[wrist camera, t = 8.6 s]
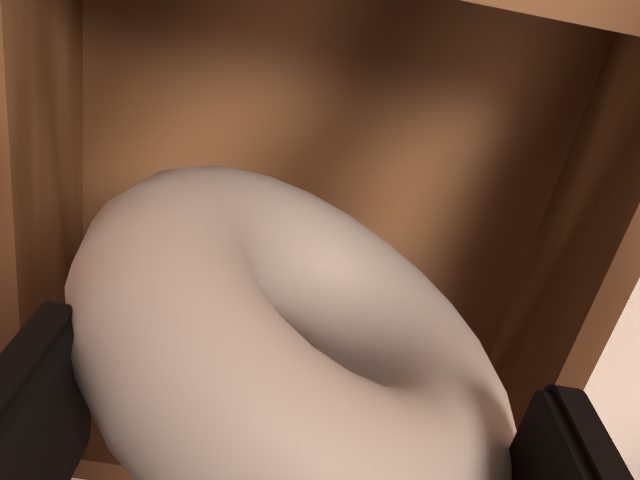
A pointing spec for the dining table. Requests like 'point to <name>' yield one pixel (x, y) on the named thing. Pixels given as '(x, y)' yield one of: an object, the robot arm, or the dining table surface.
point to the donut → (273, 342)
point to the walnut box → (348, 147)
